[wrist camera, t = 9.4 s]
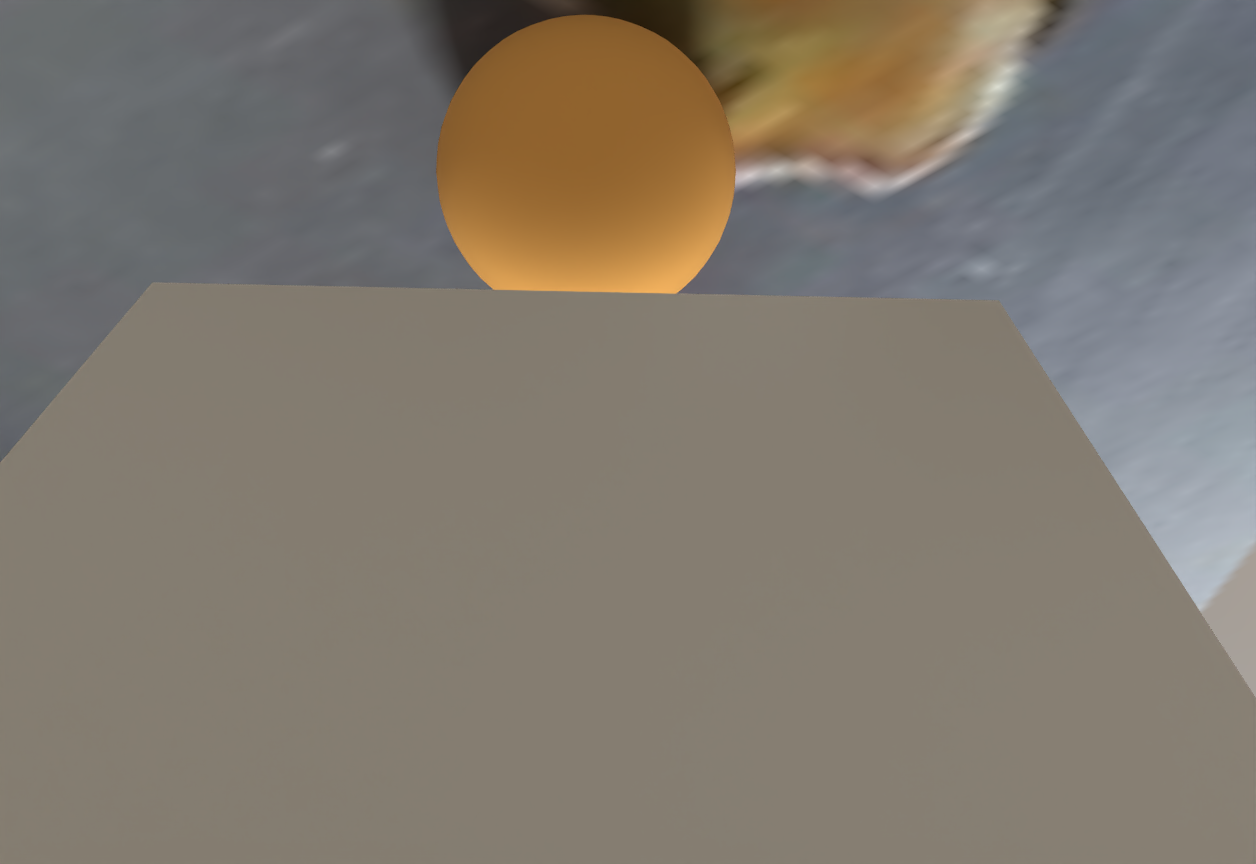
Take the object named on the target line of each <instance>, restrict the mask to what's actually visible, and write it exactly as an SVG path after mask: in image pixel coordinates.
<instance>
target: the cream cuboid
mask: <svg viewBox="0 0 1256 864" xmlns="http://www.w3.org/2000/svg"><path fill="white" fill-rule="evenodd" d="M0 864H1256V698H1255V696H1254V694H1253V693H1252V692H1251V690H1250V688H1249V687H1248V685H1247V684H1246V682H1245V681H1244V679H1243V678H1242V676H1241V674H1240V673H1239V671H1238V670H1237V668H1236V667H1235V665H1234V663H1233V662H1232V660H1231V659H1230V657H1229V656H1228V654H1227V653H1226V651H1225V650H1224V648H1223V646H1222V645H1221V643H1220V642H1219V640H1218V639H1217V637H1216V636H1215V634H1214V633H1213V631H1212V629H1211V628H1210V626H1209V625H1208V624H1207V622H1206V620H1205V619H1204V617H1203V616H1202V614H1201V612H1200V611H1199V609H1198V608H1197V606H1196V605H1195V603H1194V602H1193V600H1192V599H1191V597H1190V595H1189V594H1188V592H1187V591H1186V589H1185V588H1184V586H1183V585H1182V583H1181V582H1180V580H1179V578H1178V577H1177V575H1176V574H1175V572H1174V571H1173V569H1172V568H1171V566H1170V564H1169V563H1168V561H1167V560H1166V558H1165V557H1164V555H1163V554H1162V552H1161V551H1160V549H1159V547H1158V546H1157V544H1156V543H1155V541H1154V540H1153V538H1152V537H1151V535H1150V534H1149V532H1148V530H1147V529H1146V527H1145V526H1144V524H1143V523H1142V521H1141V520H1140V518H1139V517H1138V515H1137V513H1136V512H1135V510H1134V509H1133V507H1132V506H1131V504H1130V503H1129V501H1128V500H1127V498H1126V496H1125V495H1124V493H1123V492H1122V490H1121V489H1120V487H1119V486H1118V484H1117V483H1116V481H1115V479H1114V478H1113V476H1112V475H1111V473H1110V472H1109V470H1108V469H1107V467H1106V466H1105V464H1104V462H1103V461H1102V459H1101V458H1100V456H1099V455H1098V453H1097V452H1096V450H1095V449H1094V447H1093V445H1092V444H1091V442H1090V441H1089V439H1088V438H1087V436H1086V435H1085V433H1084V432H1083V430H1082V428H1081V427H1080V425H1079V424H1078V422H1077V421H1076V419H1075V418H1074V416H1073V415H1072V413H1071V411H1070V410H1069V408H1068V407H1067V405H1066V404H1065V402H1064V401H1063V399H1062V398H1061V396H1060V394H1059V393H1058V391H1057V390H1056V388H1055V387H1054V385H1053V384H1052V382H1051V381H1050V379H1049V377H1048V376H1047V374H1046V373H1045V371H1044V370H1043V368H1042V367H1041V365H1040V364H1039V362H1038V360H1037V359H1036V357H1035V356H1034V354H1033V353H1032V351H1031V350H1030V348H1029V346H1028V345H1027V343H1026V342H1025V340H1024V339H1023V337H1022V336H1021V334H1020V333H1019V331H1018V329H1017V328H1016V326H1015V325H1014V323H1013V322H1012V320H1011V319H1010V317H1009V316H1008V314H1007V312H1006V311H1005V309H1004V308H1003V306H1002V305H1001V303H1000V302H999V301H998V300H951V299H904V298H857V297H810V296H763V295H716V294H669V293H622V292H575V291H528V290H481V289H434V288H387V287H340V286H293V285H246V284H199V283H152V284H151V285H150V286H149V287H148V288H147V289H146V291H145V292H144V293H143V294H142V295H141V297H140V298H139V299H138V300H137V301H136V302H135V304H134V305H133V306H132V307H131V308H130V310H129V311H128V312H127V313H126V314H125V316H124V317H123V318H122V319H121V320H120V321H119V323H118V324H117V325H116V326H115V327H114V329H113V330H112V331H111V332H110V333H109V334H108V336H107V337H106V338H105V339H104V340H103V342H102V343H101V344H100V345H99V346H98V347H97V349H96V350H95V351H94V352H93V353H92V355H91V356H90V357H89V358H88V359H87V361H86V362H85V363H84V364H83V365H82V366H81V368H80V369H79V370H78V371H77V372H76V374H75V375H74V376H73V377H72V378H71V379H70V381H69V382H68V383H67V384H66V385H65V387H64V388H63V389H62V390H61V391H60V392H59V394H58V395H57V396H56V397H55V398H54V400H53V401H52V402H51V403H50V404H49V405H48V407H47V408H46V409H45V410H44V411H43V413H42V414H41V415H40V416H39V417H38V419H37V420H36V421H35V422H34V423H33V424H32V426H31V427H30V428H29V429H28V430H27V432H26V433H25V434H24V435H23V436H22V437H21V439H20V440H19V441H18V442H17V443H16V445H15V446H14V447H13V448H12V449H11V450H10V452H9V453H8V454H7V455H6V456H5V458H4V459H3V460H2V461H1V462H0Z"/></svg>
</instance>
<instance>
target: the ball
mask: <svg viewBox="0 0 1256 864" xmlns="http://www.w3.org/2000/svg"><path fill="white" fill-rule="evenodd" d="M436 174H437V182H438V191H439V199H440V203H441V207H442V211H443V214H444V218H445V220H446V223H447V226H448V228H449V230H450V233H451V235H452V237H453V239H454V242H455V244H456V245H457V247H458V248H459V250H460V251H461V253H462V255H463V256H464V258H465V259H466V261H467V262H468V264H469V265H470V266H471V267H472V269H473V270H474V271H475V272H476V273H477V274H478V276H479V277H480V278H481V279H482V280H483V281H485V282H486V283H487V284H488V285H489V286H490V287H491V288H492V289H494V290H528V291H575V292H622V293H669V294H676V293H677V292H679V291H680V290H681V289H682V288H683V287H684V286H686V285H687V284H688V283H689V282H690V281H691V280H692V279H693V278H694V277H695V276H696V275H697V273H698V272H699V271H700V270H701V268H702V267H703V266H704V265H705V263H706V262H707V260H708V259H709V258H710V256H711V254H712V253H713V251H714V249H715V248H716V246H717V244H718V243H719V241H720V238H721V236H722V233H723V231H724V228H725V226H726V223H727V220H728V218H729V215H730V210H731V206H732V202H733V196H734V188H735V174H736V169H735V157H734V146H733V140H732V136H731V132H730V128H729V124H728V121H727V118H726V116H725V113H724V111H723V108H722V106H721V103H720V101H719V99H718V98H717V96H716V94H715V92H714V91H713V89H712V87H711V86H710V84H709V82H708V81H707V79H706V78H705V76H704V75H703V74H702V73H701V71H700V70H699V69H698V67H697V66H696V65H695V64H694V63H693V62H692V61H691V60H690V59H689V58H688V57H687V56H686V55H685V54H683V53H682V52H681V51H680V50H679V49H678V48H677V47H675V46H674V45H673V44H671V43H670V42H669V41H668V40H666V39H664V38H663V37H661V36H659V35H658V34H656V33H654V32H652V31H650V30H648V29H646V28H643V27H641V26H639V25H636V24H633V23H630V22H627V21H624V20H621V19H616V18H612V17H607V16H598V15H571V16H562V17H557V18H553V19H548V20H545V21H542V22H539V23H536V24H533V25H530V26H528V27H526V28H523V29H521V30H519V31H517V32H515V33H513V34H512V35H510V36H508V37H507V38H505V39H503V40H502V41H501V42H499V43H498V44H497V45H496V46H494V47H493V48H492V49H491V50H489V51H488V52H487V53H486V54H485V55H484V56H483V57H482V58H481V59H480V60H479V61H478V62H477V63H476V64H475V65H474V66H473V67H472V69H471V70H470V71H469V73H468V74H467V75H466V77H465V78H464V79H463V81H462V83H461V84H460V86H459V87H458V89H457V91H456V93H455V95H454V96H453V98H452V100H451V102H450V105H449V108H448V110H447V113H446V116H445V119H444V122H443V124H442V127H441V132H440V137H439V142H438V151H437V168H436Z"/></svg>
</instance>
